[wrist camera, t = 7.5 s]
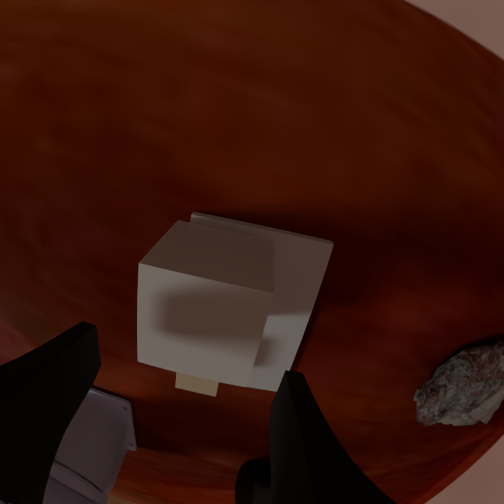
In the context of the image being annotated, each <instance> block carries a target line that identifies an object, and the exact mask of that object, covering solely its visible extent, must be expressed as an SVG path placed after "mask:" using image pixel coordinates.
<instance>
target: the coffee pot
mask: <svg viewBox="0 0 504 504" xmlns="http://www.w3.org/2000/svg"><path fill="white" fill-rule="evenodd" d="M270 493H271V466H267V465H264V464H260V463H257V462H253V461H247V462H245V463H244V464H242V466H241V467H240V469H239V472H238V475H237V480H236V487H235V503H236V504H270Z"/></svg>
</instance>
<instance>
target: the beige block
mask: <svg viewBox="0 0 504 504" xmlns="http://www.w3.org/2000/svg"><path fill="white" fill-rule="evenodd" d="M273 296H274V246H273V240H269V239H264V238H260V237H255V236H250V235H246V234H241V233H236V232H232V231H227V230H222V229H218V228H213V227H208V226H203V225H199V224H194V223H189V222H184V221H179V220H178V221H177V222H176V223H175V224H174V225H173V226H172V227H171V228H170V230H169V231H168V232H167V233H166V234H165V235H164V236H163V237H162V238H161V239H160V240H159V241H158V243H157V244H156V245H155V246H154V247H153V248H152V249H151V250H150V251H149V252H148V254H147V255H146V256H145V257H144V258H143V259H142V260H141V261H140V263H139V273H138V306H137V346H138V362H142V363H145V364H149V365H152V366H156V367H159V368H163V369H167V370H171V371H174V372H178V373H182V374H186V375H191V376H195V377H199V378H204V379H208V380H213V381H217V382H222V383H227V384H232V385H237V386H243V387H247V384H248V381H249V378H250V375H251V371H252V368H253V365H254V361H255V358H256V355H257V351H258V348H259V345H260V341H261V338H262V335H263V331H264V328H265V324H266V321H267V317H268V314H269V310H270V307H271V303H272V300H273Z"/></svg>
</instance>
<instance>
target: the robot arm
mask: <svg viewBox="0 0 504 504" xmlns="http://www.w3.org/2000/svg"><path fill="white" fill-rule="evenodd" d="M100 366H101V360H100V353H99V345H98V336H97V327H96V325H93V324H90V323H87V322H84V321H82V322H80V323H79V324H77V325H75V326H73V327H72V328H70V329H68V330H67V331H65V332H63V333H62V334H60V335H58V336H57V337H55V338H53V339H52V340H50V341H48V342H46V343H45V344H43V345H41V346H40V347H38V348H36V349H34V350H32V351H30V352H28V353H26V354H24V355H22V356H21V357H19V358H17V359H14V360H12V361H10V362H8V363H5V364H3V365H0V504H106V502H107V499H108V495H106V494H108V493H109V492H110V491H111V490H112V488H113V486H114V484H115V481H116V478H117V476H118V473H119V470H120V468H121V465H122V462H123V460H124V457H125V454H126V452H127V449H129V450H132V451H136V450H137V444H136V437H135V431H134V423H133V416H132V408H131V403H130V402H129V401H128V400H126V399H123V398H119V397H116V396H114V395H111V394H108V393H105V392H102V391H99V390H97V389H94V388H91V387H92V385H93V382H94V380H95V378H96V376H97V373H98V371H99V369H100ZM269 438H270V466H271V493H270V504H397V503H395V502H394V501H393V500H392V499H390V498H389V497H388V496H387V495H386V494H385V493H383V492H382V491H381V490H380V489H379V488H378V487H377V486H376V485H375V484H374V483H373V482H372V481H371V480H370V479H369V478H368V477H367V476H366V475H365V474H364V473H363V472H362V471H361V470H360V468H359V467H358V466H357V465H356V464H355V463H354V461H353V460H352V459H351V457H350V456H349V455H348V454H347V452H346V451H345V449H344V448H343V447H342V445H341V444H340V442H339V441H338V439H337V438H336V436H335V435H334V433H333V431H332V430H331V428H330V426H329V425H328V423H327V421H326V419H325V418H324V416H323V414H322V412H321V410H320V408H319V406H318V405H317V403H316V401H315V398H314V396H313V394H312V392H311V390H310V388H309V386H308V384H307V381H306V379H305V377H304V375H303V373H301V372H294V371H287V370H285V372H284V375H283V378H282V380H281V383H280V385H279V388H278V390H277V393H276V395H275V398H274V400H273V403H272V405H271V415H270V426H269Z"/></svg>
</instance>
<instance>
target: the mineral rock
mask: <svg viewBox="0 0 504 504" xmlns="http://www.w3.org/2000/svg"><path fill="white" fill-rule="evenodd" d="M503 399H504V342H502V341H500V340H498V341H497V342H496V343H492V344H491V345H481V346H477V347H472V348H466V349H464V350H462V351H461V352H459V353H458V354H456V355H455V356H454V357H452V358H451V359H449V360H448V361H447V362H446V363H444V364H443V365H442V366H440V367H438V368H437V369H436V371H435V372H434V374H433V376H432V378H431V379H430V380H429V381H427V382H425V384H423V387H422V389H417V391H416V393H415V396H414V400H417V404H416V405H417V407H416V411H417V422H419V423H420V424H423V425H424V426H430V425H432V424H435V423H440V422H442V424H453V425H454V426H460V425H463V426H466V425H474V424H476V423H478V422H479V421H480V420H481V422H483V423H485V424H486V423H488V421H489V420H490V419H491V417H492V415H493V413H494V412H495V411H496V410H497V409H498V408H499V406H500V404H501V401H502V400H503Z"/></svg>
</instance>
